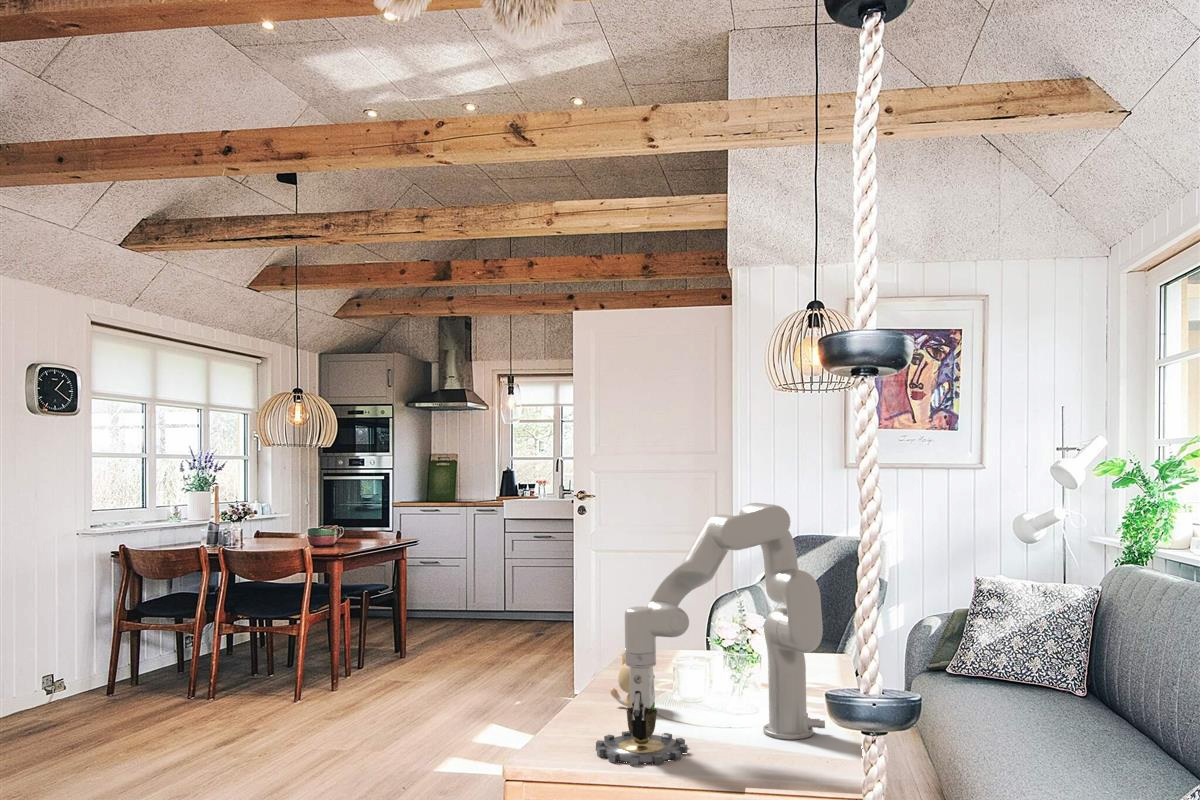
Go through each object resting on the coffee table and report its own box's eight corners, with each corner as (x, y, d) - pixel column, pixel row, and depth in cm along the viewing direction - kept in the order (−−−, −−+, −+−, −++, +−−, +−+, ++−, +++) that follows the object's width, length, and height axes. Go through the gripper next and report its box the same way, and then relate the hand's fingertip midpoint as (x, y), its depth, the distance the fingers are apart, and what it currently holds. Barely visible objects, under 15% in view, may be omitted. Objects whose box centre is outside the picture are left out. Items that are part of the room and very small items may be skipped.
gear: (691, 740, 247) (691, 732, 247) (681, 768, 225) (681, 760, 225) (605, 736, 251) (605, 728, 251) (587, 763, 229) (587, 755, 229)
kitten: (667, 711, 274) (666, 657, 274) (638, 717, 268) (637, 661, 269) (637, 700, 286) (636, 648, 287) (608, 705, 281) (608, 652, 282)
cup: (654, 748, 233) (654, 713, 234) (623, 745, 235) (624, 711, 235) (658, 740, 240) (659, 707, 241) (629, 738, 242) (629, 705, 243)
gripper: (650, 666, 230) (652, 743, 229) (660, 651, 247) (661, 722, 246) (619, 666, 231) (620, 742, 230) (631, 650, 248) (632, 721, 247)
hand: (641, 731), depth 238 cm, fingers open, 7 cm apart
